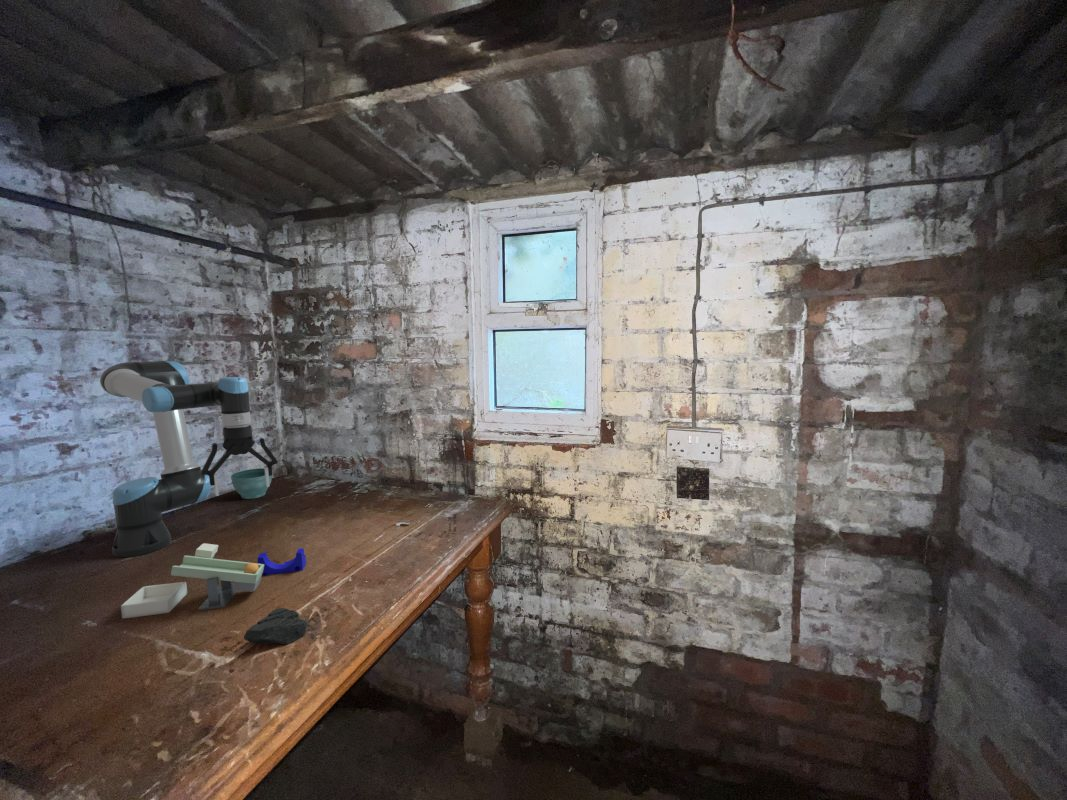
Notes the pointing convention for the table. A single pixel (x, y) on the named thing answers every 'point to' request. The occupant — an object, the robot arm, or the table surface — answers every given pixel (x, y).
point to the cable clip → (288, 566)
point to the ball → (251, 568)
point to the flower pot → (250, 483)
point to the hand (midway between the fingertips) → (243, 490)
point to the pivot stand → (218, 594)
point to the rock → (277, 628)
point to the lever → (218, 569)
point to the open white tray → (154, 600)
